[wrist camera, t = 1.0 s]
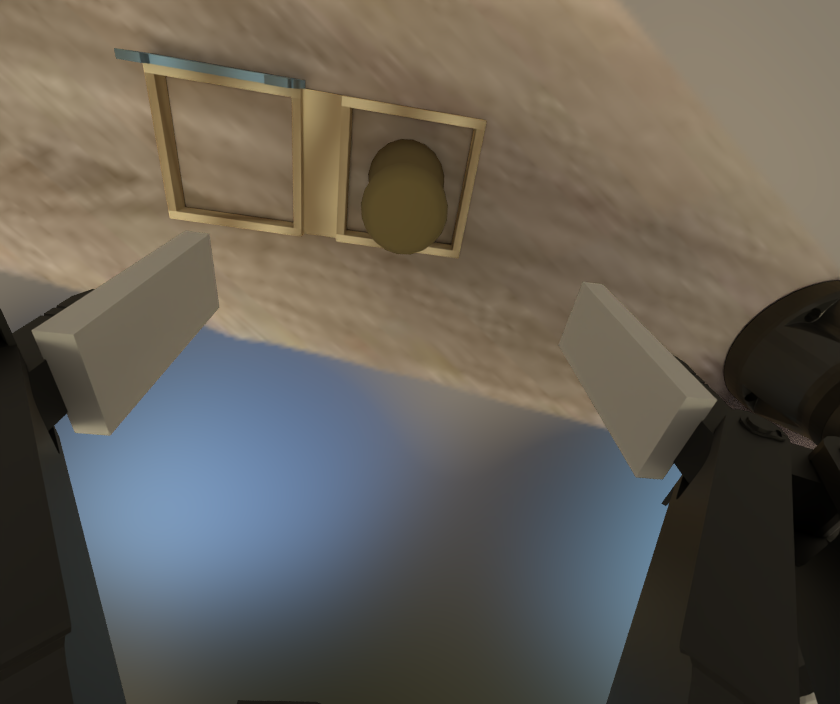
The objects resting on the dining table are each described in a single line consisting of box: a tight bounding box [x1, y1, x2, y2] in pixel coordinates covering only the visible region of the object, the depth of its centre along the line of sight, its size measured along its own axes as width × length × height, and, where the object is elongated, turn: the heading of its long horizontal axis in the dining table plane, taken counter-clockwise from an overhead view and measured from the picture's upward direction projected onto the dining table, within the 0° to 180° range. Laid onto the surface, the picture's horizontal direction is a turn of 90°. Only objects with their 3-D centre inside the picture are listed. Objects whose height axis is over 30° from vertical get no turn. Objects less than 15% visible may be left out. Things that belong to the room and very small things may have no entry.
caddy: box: [114, 48, 487, 258], centre depth 30 cm, size 23×11×4 cm, turn 81°
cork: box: [361, 139, 448, 254], centre depth 28 cm, size 6×6×11 cm
